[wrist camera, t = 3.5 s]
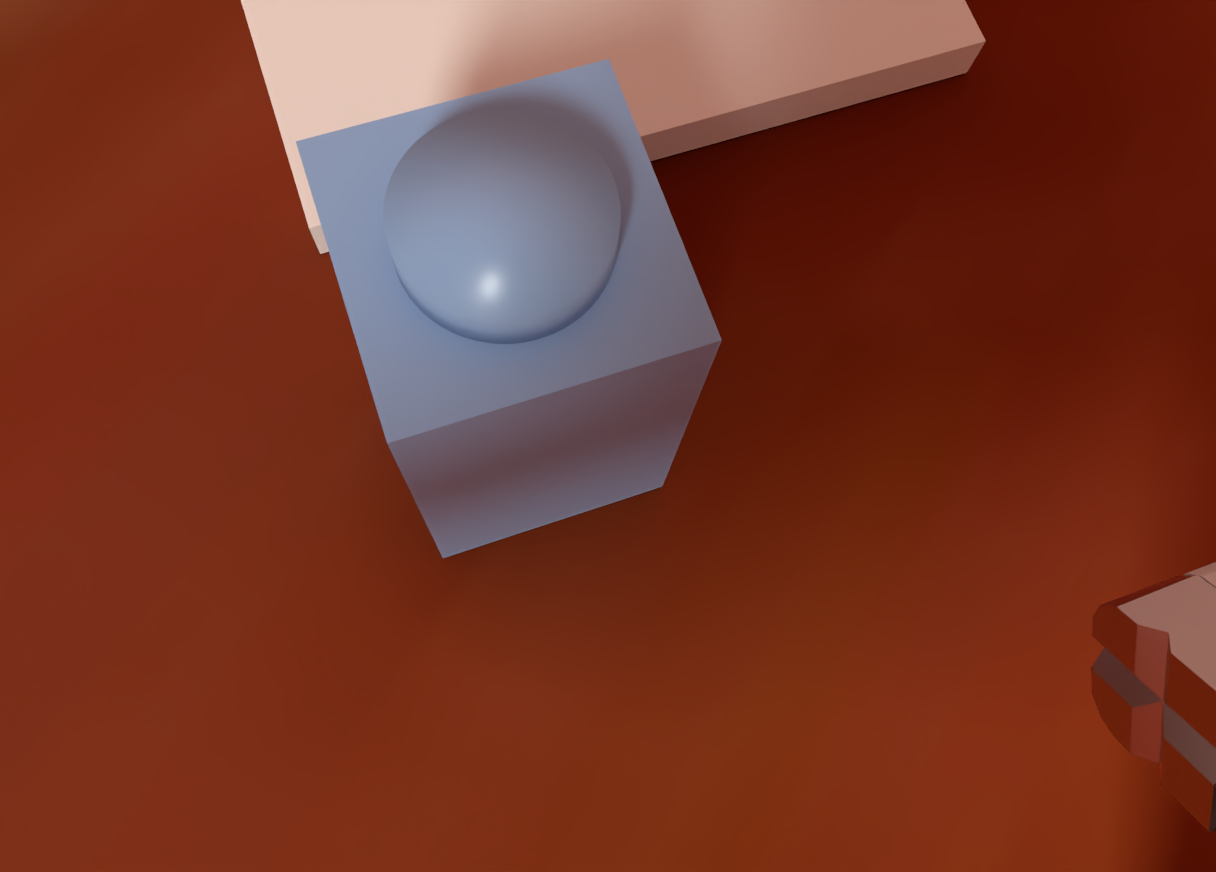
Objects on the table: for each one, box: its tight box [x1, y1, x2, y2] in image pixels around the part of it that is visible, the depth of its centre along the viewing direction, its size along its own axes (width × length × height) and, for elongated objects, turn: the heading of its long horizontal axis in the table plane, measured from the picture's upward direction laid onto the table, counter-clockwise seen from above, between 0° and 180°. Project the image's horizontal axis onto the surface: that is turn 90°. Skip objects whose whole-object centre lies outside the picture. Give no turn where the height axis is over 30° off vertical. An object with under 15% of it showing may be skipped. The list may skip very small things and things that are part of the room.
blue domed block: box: [296, 59, 722, 558], centre depth 19 cm, size 5×5×9 cm
